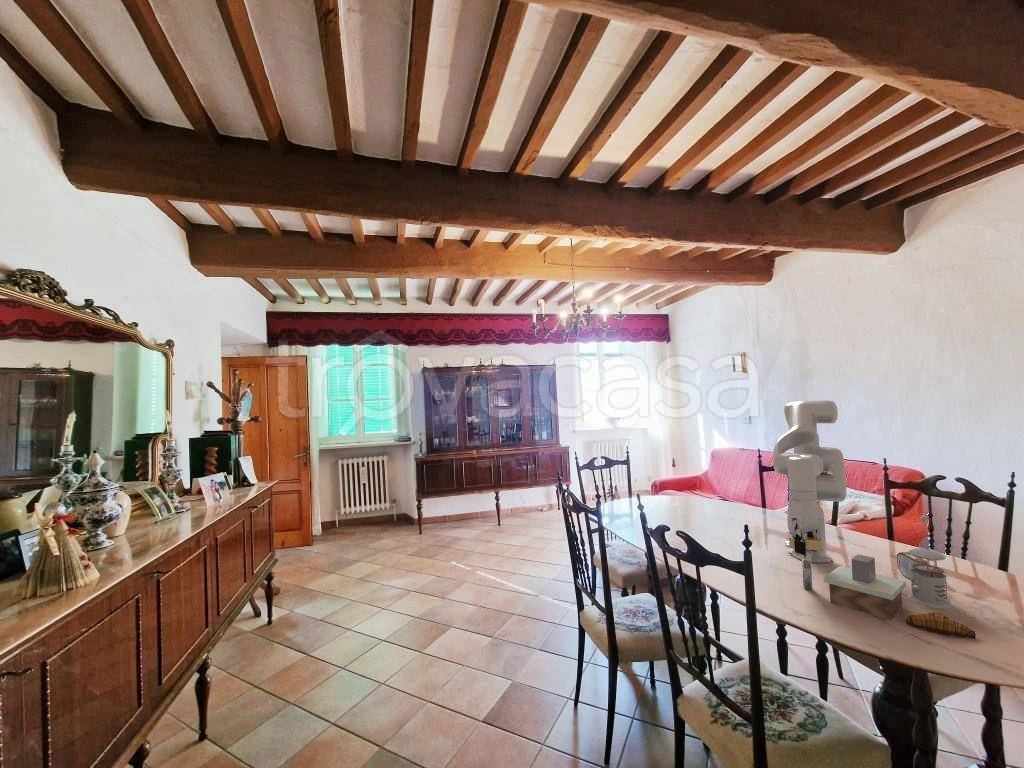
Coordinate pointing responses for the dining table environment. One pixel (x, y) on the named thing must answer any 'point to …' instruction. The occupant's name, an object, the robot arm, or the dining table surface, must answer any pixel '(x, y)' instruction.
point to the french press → (928, 578)
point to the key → (808, 558)
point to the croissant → (940, 625)
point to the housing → (865, 602)
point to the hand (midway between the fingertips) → (805, 551)
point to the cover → (865, 578)
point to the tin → (909, 564)
